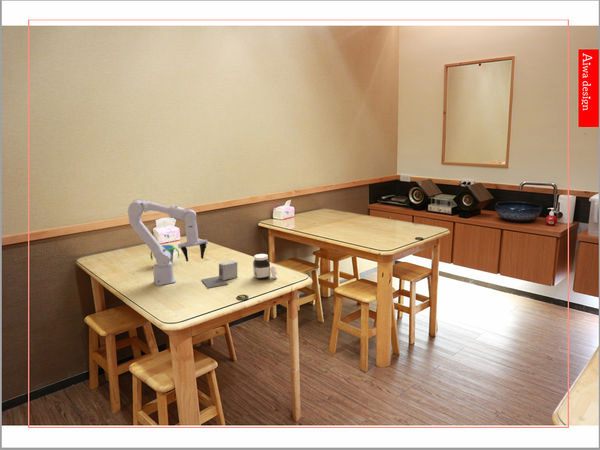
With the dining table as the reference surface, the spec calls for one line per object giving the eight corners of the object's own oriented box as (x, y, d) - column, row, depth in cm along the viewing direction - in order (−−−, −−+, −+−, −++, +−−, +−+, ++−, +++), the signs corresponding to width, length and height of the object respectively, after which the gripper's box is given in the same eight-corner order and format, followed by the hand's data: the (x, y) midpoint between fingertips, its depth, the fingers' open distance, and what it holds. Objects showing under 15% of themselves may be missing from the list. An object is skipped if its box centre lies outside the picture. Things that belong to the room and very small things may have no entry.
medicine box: (218, 278, 225) (233, 275, 231) (223, 280, 222) (237, 277, 228) (218, 263, 224) (233, 260, 230) (223, 265, 221) (237, 262, 227)
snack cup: (181, 260, 259) (179, 244, 257) (177, 266, 249) (176, 249, 246) (154, 262, 258) (152, 245, 256) (149, 268, 248) (147, 250, 246)
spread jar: (252, 275, 229) (250, 254, 227) (272, 272, 234) (271, 251, 231) (259, 283, 219) (258, 260, 216) (280, 279, 223) (279, 257, 220)
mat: (208, 288, 214) (208, 287, 214) (201, 280, 225) (201, 279, 225) (228, 284, 218) (228, 283, 218) (220, 276, 230) (220, 275, 229)
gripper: (179, 237, 215) (182, 264, 219) (208, 233, 222) (210, 259, 225) (176, 234, 222) (179, 260, 225) (204, 230, 228) (207, 255, 231)
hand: (194, 259), depth 225 cm, fingers open, 7 cm apart
